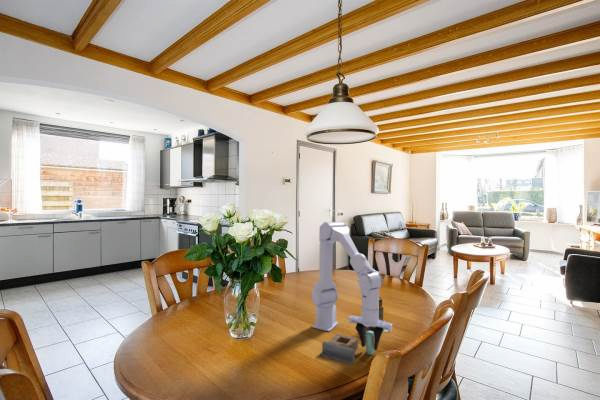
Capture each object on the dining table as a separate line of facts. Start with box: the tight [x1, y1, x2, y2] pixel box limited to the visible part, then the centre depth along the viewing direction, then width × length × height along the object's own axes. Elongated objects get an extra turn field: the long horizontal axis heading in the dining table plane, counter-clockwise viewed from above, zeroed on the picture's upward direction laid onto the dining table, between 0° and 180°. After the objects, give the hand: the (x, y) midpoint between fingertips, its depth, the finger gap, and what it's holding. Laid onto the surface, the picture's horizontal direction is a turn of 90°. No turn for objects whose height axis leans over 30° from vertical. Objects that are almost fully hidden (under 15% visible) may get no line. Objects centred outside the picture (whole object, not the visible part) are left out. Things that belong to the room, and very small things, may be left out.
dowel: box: [365, 330, 375, 356], centre depth 105 cm, size 3×3×7 cm
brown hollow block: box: [328, 333, 359, 353], centre depth 106 cm, size 8×8×4 cm
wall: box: [319, 341, 356, 365], centre depth 101 cm, size 3×11×4 cm, turn 61°
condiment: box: [366, 296, 389, 333], centre depth 125 cm, size 7×8×12 cm
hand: (369, 347), depth 105 cm, fingers open, 4 cm apart
